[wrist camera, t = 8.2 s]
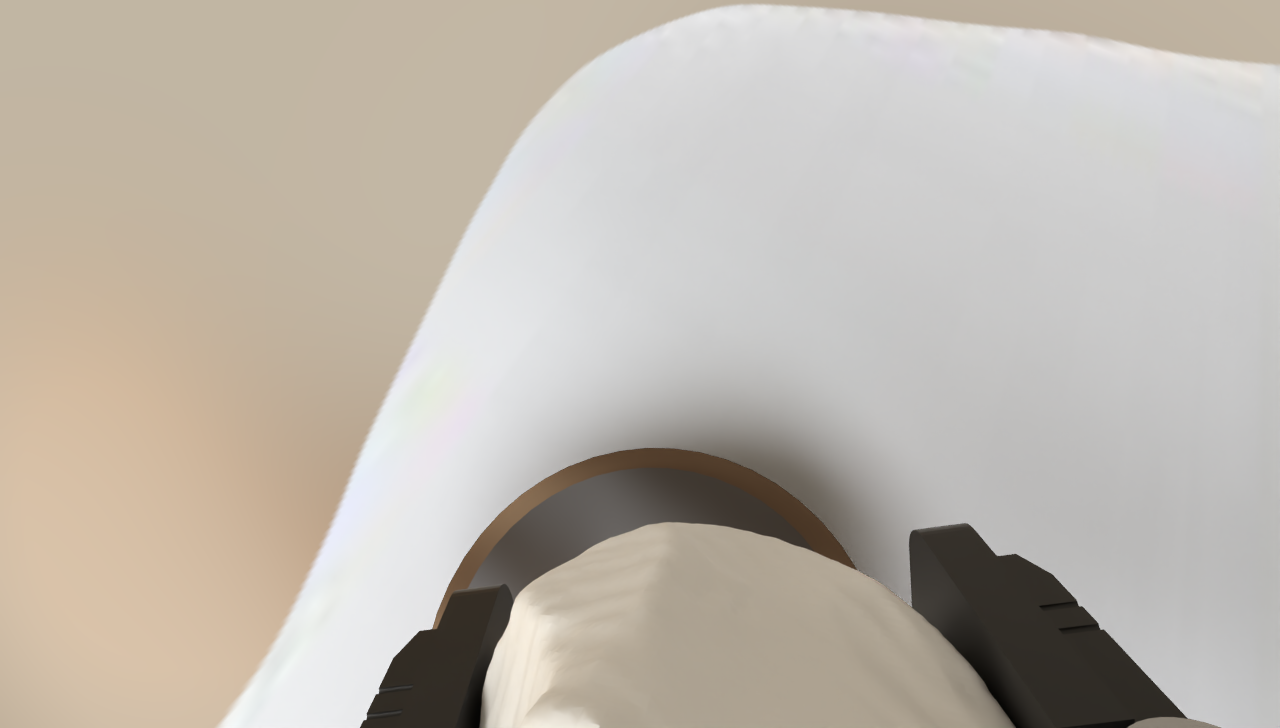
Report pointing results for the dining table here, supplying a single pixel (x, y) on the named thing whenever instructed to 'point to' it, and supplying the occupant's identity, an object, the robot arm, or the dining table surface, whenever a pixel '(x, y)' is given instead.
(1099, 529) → the dining table surface
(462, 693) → the robot arm
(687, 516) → the podium
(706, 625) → the white tall rounded piece
